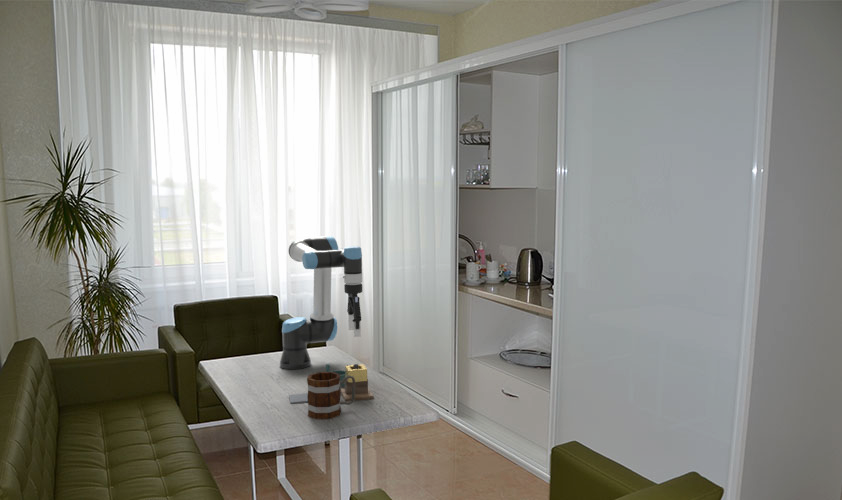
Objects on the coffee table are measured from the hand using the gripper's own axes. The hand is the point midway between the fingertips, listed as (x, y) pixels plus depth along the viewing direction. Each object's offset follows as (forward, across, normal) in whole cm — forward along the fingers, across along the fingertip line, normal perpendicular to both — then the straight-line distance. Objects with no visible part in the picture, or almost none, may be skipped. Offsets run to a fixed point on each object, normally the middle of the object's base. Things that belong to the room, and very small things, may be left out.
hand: (354, 333), depth 279 cm
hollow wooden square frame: (+20, 0, 0) cm, 20 cm away
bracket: (+27, -18, -5) cm, 33 cm away
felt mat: (+27, -2, -23) cm, 35 cm away
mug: (+27, +18, -13) cm, 35 cm away
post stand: (+27, 0, 0) cm, 27 cm away
